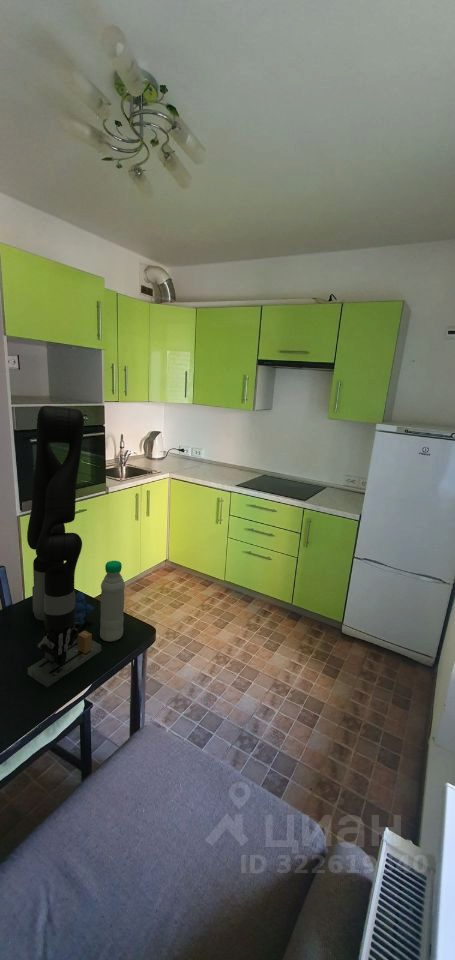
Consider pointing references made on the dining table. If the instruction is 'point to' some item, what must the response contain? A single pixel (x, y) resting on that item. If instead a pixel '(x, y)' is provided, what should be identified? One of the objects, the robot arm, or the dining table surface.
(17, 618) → the dining table surface
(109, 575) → the water bottle
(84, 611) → the grapes
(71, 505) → the robot arm
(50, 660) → the fader
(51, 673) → the console
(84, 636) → the fader
